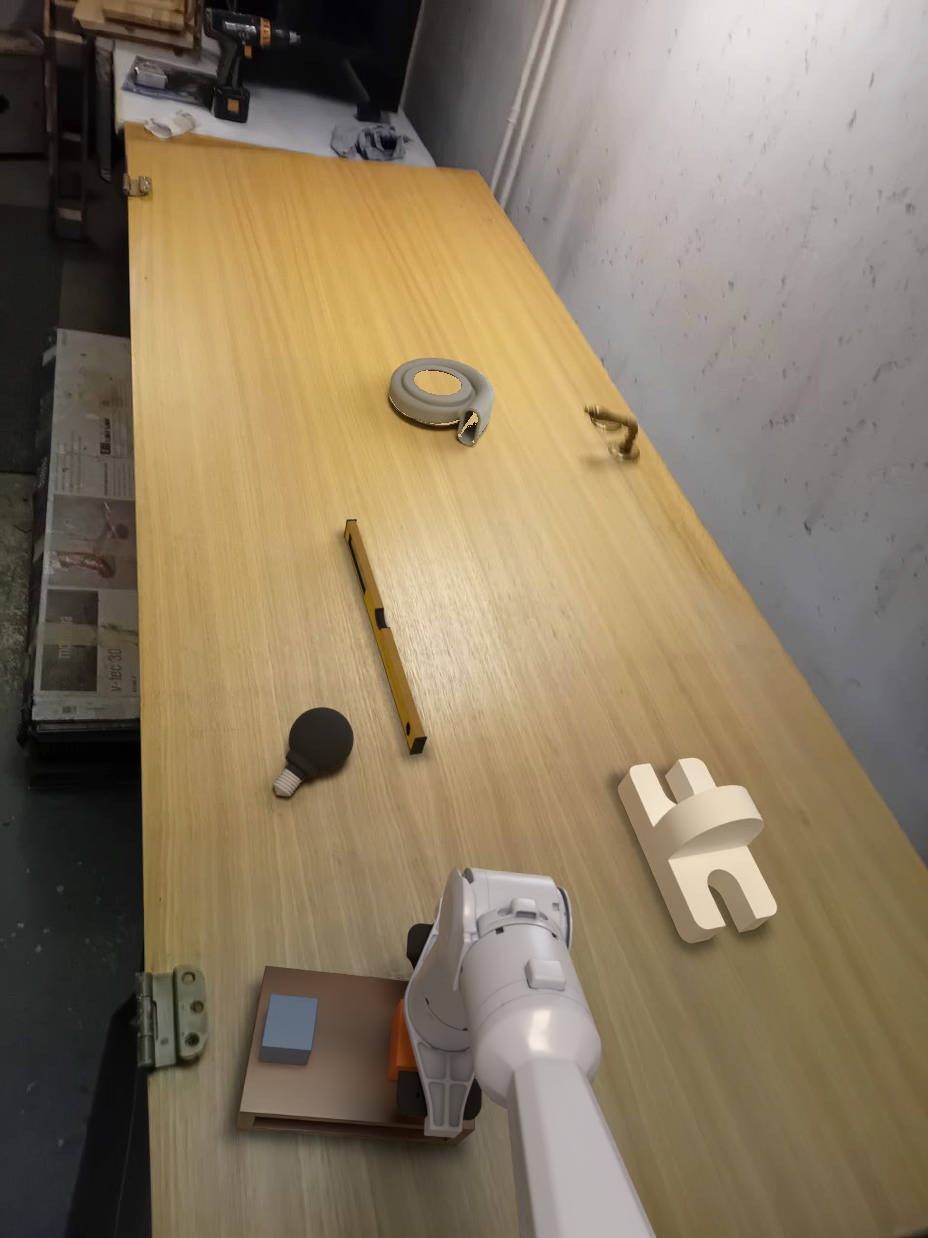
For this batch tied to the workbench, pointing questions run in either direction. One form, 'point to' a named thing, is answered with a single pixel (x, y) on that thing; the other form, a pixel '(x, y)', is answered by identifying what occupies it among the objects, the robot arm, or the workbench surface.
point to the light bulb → (315, 747)
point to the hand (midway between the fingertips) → (423, 1043)
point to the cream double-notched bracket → (699, 847)
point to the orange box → (400, 1046)
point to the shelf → (333, 1064)
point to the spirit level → (385, 640)
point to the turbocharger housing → (444, 396)
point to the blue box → (289, 1029)
